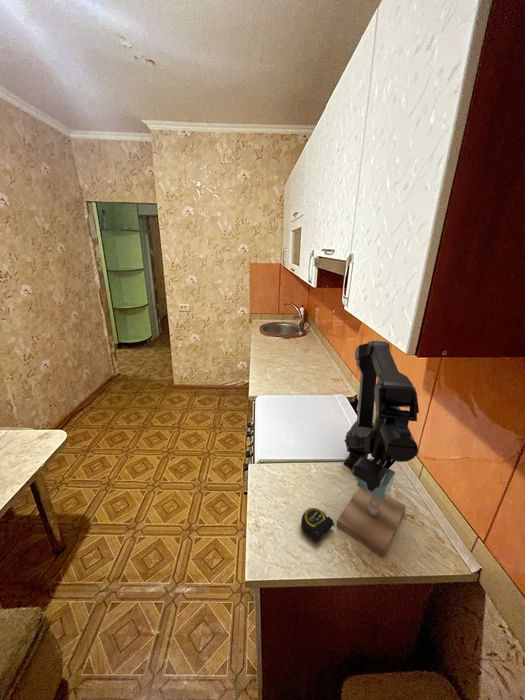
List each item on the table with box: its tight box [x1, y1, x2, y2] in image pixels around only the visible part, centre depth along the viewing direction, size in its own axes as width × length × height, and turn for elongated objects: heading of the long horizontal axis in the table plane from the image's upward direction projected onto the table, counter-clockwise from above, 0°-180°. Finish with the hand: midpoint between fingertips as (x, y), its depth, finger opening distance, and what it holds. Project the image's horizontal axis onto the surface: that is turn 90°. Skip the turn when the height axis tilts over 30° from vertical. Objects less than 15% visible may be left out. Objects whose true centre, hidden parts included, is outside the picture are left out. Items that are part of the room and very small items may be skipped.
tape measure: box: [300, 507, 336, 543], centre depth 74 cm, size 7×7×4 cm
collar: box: [356, 459, 396, 500], centre depth 73 cm, size 6×6×4 cm
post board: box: [335, 486, 407, 558], centre depth 76 cm, size 16×12×9 cm
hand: (375, 481), depth 73 cm, fingers closed on collar, 6 cm apart
